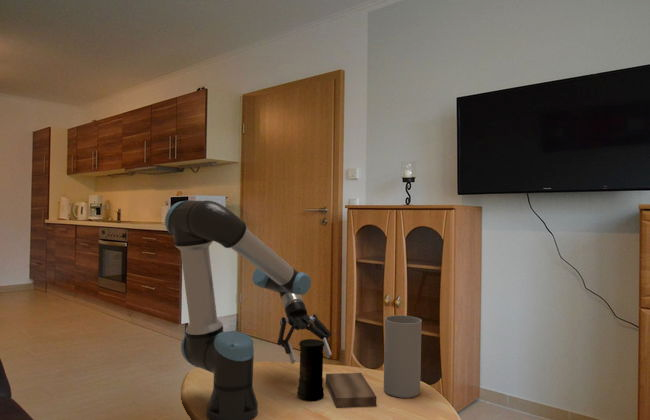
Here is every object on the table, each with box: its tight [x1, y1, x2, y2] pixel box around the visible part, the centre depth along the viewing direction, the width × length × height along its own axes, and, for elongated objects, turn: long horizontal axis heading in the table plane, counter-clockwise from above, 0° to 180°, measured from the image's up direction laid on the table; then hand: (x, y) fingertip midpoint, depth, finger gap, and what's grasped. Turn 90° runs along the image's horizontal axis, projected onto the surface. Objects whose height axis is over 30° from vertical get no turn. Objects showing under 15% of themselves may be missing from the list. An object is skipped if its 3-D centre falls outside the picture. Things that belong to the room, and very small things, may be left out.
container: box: [296, 338, 325, 402], centre depth 152 cm, size 9×9×18 cm
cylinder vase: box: [383, 314, 423, 399], centre depth 158 cm, size 12×12×25 cm
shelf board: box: [325, 372, 377, 409], centre depth 155 cm, size 13×22×3 cm, turn 8°
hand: (312, 359), depth 154 cm, fingers open, 13 cm apart
